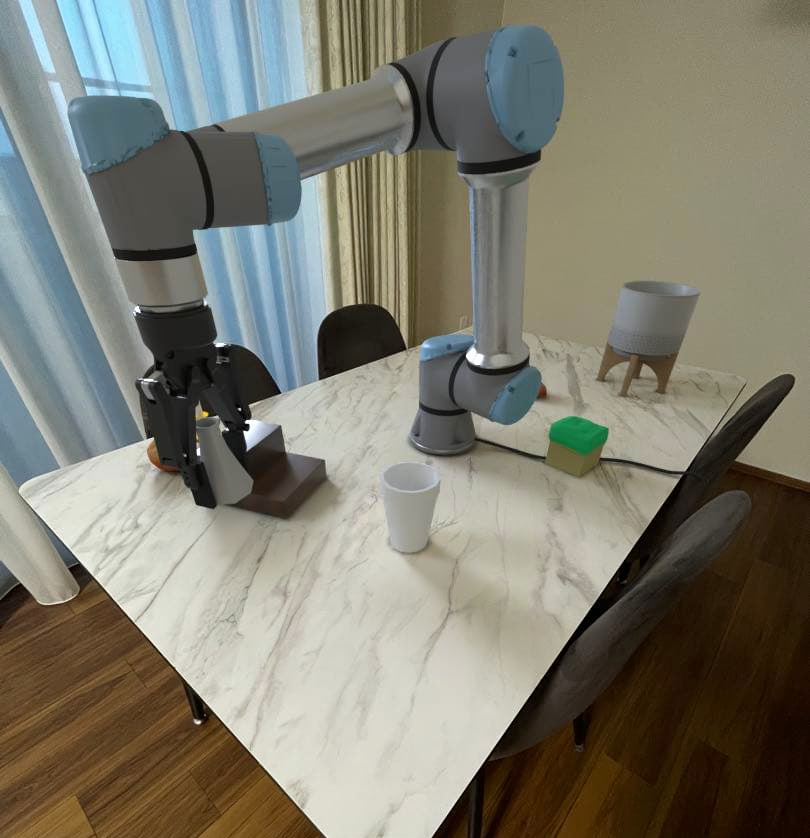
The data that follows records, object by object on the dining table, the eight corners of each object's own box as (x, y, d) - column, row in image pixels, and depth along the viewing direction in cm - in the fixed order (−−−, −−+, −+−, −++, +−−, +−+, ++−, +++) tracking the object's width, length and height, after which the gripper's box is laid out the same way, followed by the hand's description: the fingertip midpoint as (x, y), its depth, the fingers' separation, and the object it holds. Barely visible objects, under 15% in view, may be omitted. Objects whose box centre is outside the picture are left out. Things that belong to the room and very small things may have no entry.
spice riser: (326, 476, 97) (321, 432, 91) (286, 519, 86) (277, 472, 79) (252, 461, 102) (242, 418, 96) (204, 500, 90) (190, 453, 84)
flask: (238, 510, 60) (218, 438, 53) (187, 503, 61) (161, 433, 54) (262, 480, 65) (247, 412, 59) (215, 474, 66) (194, 407, 60)
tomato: (551, 397, 127) (537, 375, 125) (529, 412, 130) (515, 391, 128) (548, 390, 134) (534, 369, 132) (527, 405, 137) (513, 385, 135)
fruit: (206, 451, 102) (184, 430, 95) (190, 483, 100) (167, 464, 92) (175, 445, 104) (151, 424, 97) (159, 476, 102) (134, 457, 94)
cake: (559, 446, 108) (569, 405, 102) (602, 463, 102) (616, 420, 96) (536, 461, 103) (545, 418, 97) (580, 479, 97) (592, 435, 91)
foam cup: (380, 525, 84) (379, 462, 76) (431, 523, 85) (435, 460, 77) (383, 560, 77) (381, 494, 69) (439, 557, 78) (444, 492, 70)
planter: (669, 382, 141) (705, 285, 124) (657, 403, 128) (695, 299, 112) (605, 370, 148) (630, 277, 132) (588, 389, 136) (614, 289, 119)
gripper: (203, 280, 56) (245, 450, 71) (58, 325, 42) (148, 527, 57) (257, 285, 55) (288, 458, 69) (124, 333, 40) (199, 540, 55)
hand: (225, 489), depth 63 cm, fingers closed on flask, 7 cm apart
